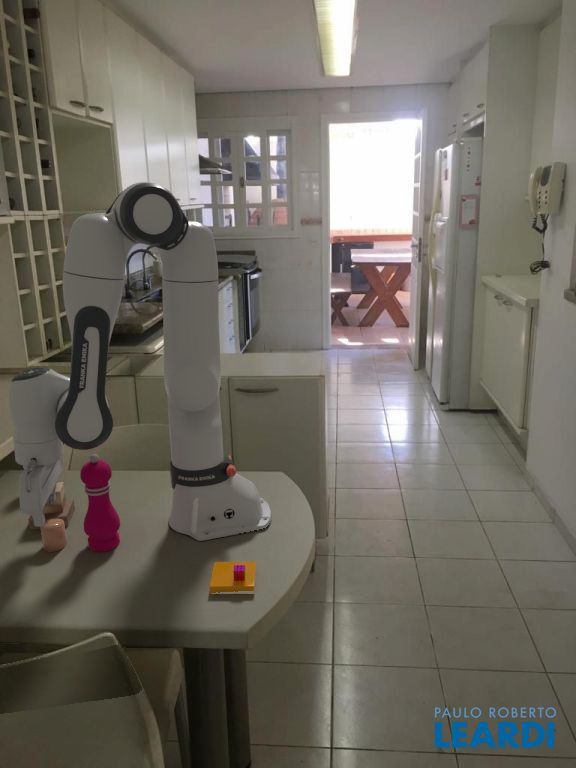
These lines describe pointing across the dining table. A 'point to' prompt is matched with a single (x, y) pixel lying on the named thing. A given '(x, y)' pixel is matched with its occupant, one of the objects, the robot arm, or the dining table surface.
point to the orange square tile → (233, 577)
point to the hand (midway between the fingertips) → (45, 513)
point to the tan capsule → (53, 535)
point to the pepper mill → (99, 506)
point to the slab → (57, 515)
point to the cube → (57, 500)
